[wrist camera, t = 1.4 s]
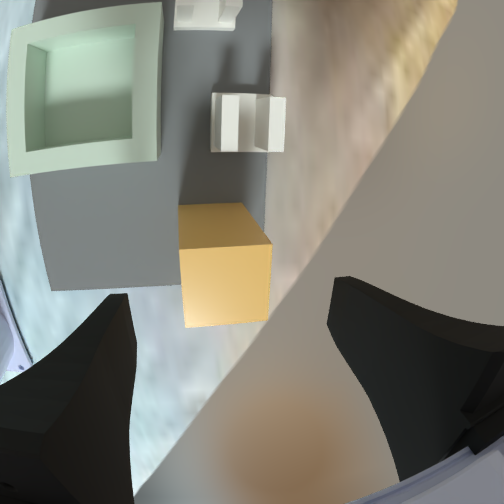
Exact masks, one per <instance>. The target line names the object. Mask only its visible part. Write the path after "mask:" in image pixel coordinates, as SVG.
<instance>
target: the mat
mask: <svg viewBox="0 0 504 504" xmlns="http://www.w3.org/2000/svg"><path fill="white" fill-rule="evenodd" d="M175 1H176V0H36V2H35V8H34V14H33V20H32V23H35V22H38V21H42V20H46V19H50V18H54V17H58V16H62V15H67V14H71V13H76V12H81V11H87V10H93V9H99V8H105V7H112V6H120V5H129V4H139V3H152V2H162V8H163V16H164V34H163V52H162V76H161V154H160V156H159V158H158V160H157V161H148V162H134V163H121V164H110V165H100V166H90V167H81V168H73V169H65V170H57V171H50V172H43V173H36V174H30V180H31V188H32V196H33V203H34V210H35V217H36V223H37V228H38V234H39V239H40V244H41V249H42V254H43V258H44V263H45V267H46V271H47V275H48V279H49V283H50V287H51V291H65V290H89V289H110V288H129V287H147V286H164V285H180V284H181V272H180V257H179V232H178V205H192V204H214V203H242V204H243V205H244V206H245V208H246V209H247V210H248V212H249V213H250V214H251V216H252V217H253V218H254V220H255V221H256V222H257V224H258V225H259V227H260V228H261V229H262V231H263V232H264V219H265V196H266V173H267V152H211V151H210V121H211V93H249V94H268V95H269V94H270V63H271V30H272V0H243V7H242V8H241V10H240V12H239V13H238V15H237V16H236V20H235V29H234V31H219V30H174V14H175Z"/></svg>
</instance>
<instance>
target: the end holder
mask: <svg viewBox="0 0 504 504" xmlns="http://www.w3.org/2000/svg"><path fill="white" fill-rule="evenodd" d="M163 34H164V16H163V8H162V2H152V3H139V4H129V5H120V6H112V7H105V8H99V9H93V10H87V11H81V12H76V13H71V14H67V15H62V16H58V17H54V18H50V19H46V20H42V21H38V22H35V23H31V24H28V25H24V26H21V27H18V28H15V29H12V31H11V39H10V48H9V59H8V72H7V99H6V117H7V144H8V158H9V169H10V178H11V177H17V176H23V175H29V174H36V173H43V172H50V171H57V170H65V169H73V168H81V167H90V166H100V165H110V164H121V163H134V162H148V161H157V160H158V158H159V156H160V154H161V76H162V52H163Z"/></svg>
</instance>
